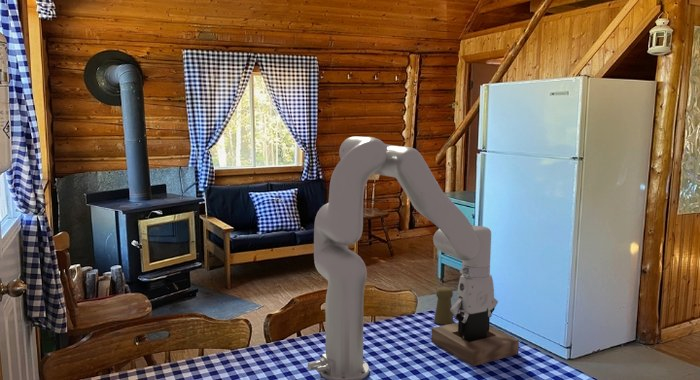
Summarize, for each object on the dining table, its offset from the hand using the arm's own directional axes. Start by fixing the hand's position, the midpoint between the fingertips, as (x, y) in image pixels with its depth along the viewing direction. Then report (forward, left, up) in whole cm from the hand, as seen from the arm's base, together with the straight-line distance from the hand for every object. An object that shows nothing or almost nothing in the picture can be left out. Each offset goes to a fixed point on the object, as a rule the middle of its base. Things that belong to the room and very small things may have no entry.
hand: (473, 331), depth 151 cm
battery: (0, 0, -3) cm, 3 cm away
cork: (+5, +20, -5) cm, 21 cm away
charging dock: (0, 0, -5) cm, 5 cm away
